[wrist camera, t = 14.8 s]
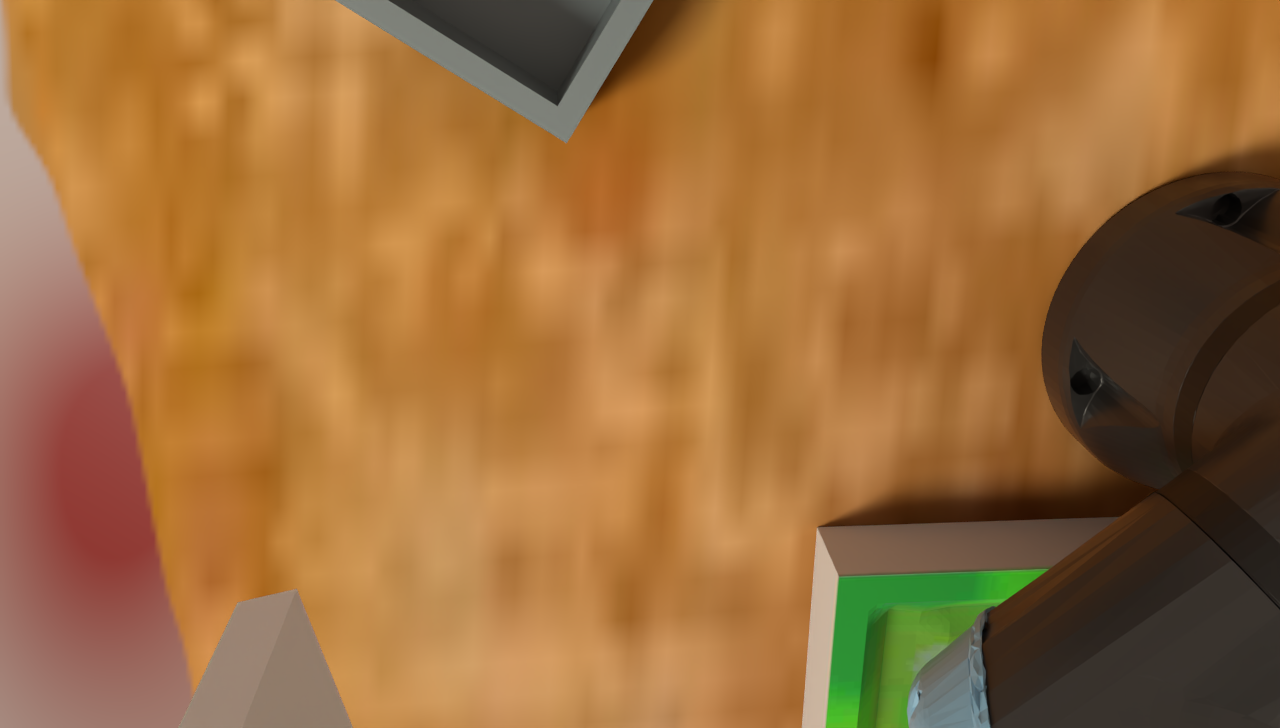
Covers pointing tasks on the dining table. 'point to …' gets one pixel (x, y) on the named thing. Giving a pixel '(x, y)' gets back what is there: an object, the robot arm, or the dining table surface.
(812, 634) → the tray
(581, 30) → the charcoal tray
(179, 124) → the dining table surface
